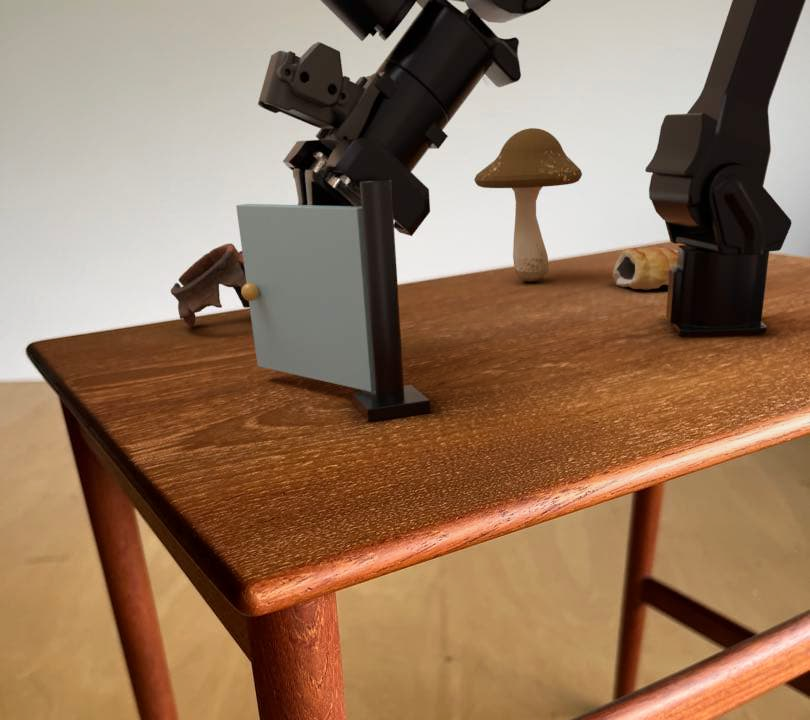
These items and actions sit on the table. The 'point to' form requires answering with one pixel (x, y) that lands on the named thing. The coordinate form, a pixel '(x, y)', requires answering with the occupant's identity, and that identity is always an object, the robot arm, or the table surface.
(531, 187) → the mushroom
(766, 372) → the table surface
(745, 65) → the robot arm
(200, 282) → the broken clay pot shard
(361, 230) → the door
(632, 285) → the pastry
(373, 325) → the door frame
